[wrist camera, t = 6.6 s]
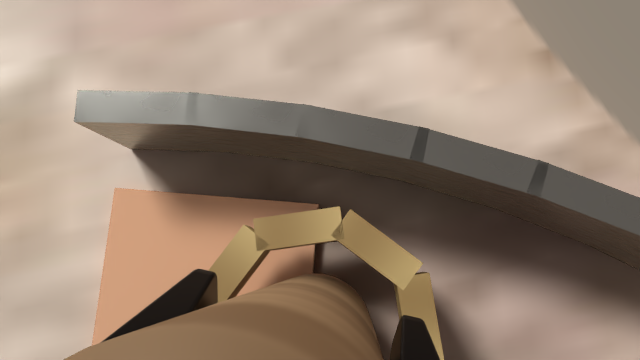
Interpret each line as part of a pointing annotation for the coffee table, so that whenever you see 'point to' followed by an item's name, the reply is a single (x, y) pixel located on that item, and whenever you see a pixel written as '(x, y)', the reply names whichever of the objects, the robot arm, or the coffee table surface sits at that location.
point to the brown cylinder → (285, 301)
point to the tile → (181, 247)
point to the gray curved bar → (372, 157)
